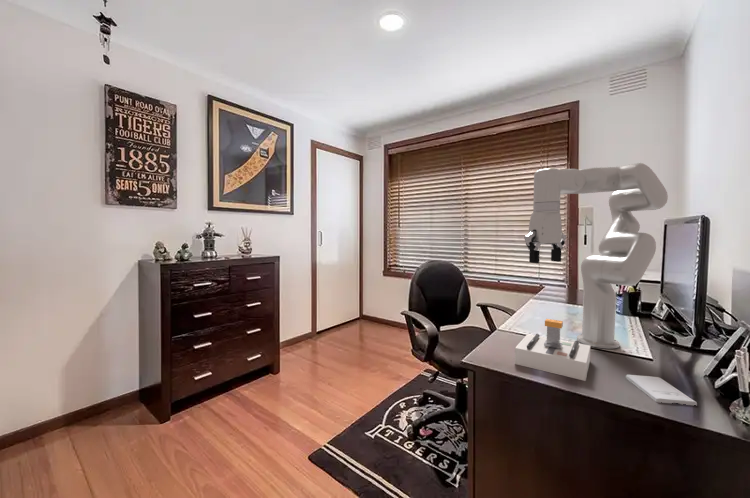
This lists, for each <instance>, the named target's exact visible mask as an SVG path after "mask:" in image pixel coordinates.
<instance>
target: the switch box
mask: <svg viewBox="0 0 750 498" xmlns="http://www.w3.org/2000/svg"><path fill="white" fill-rule="evenodd" d="M546 340H547V336H540V334H539V333H536V334H535V335H533V334H528V333H527V334H526V335H525V336H524V337H523V338H522V340H521V341H520V342H519V343H518V344H517V345H516V346H515V347H514V349H515V350H514V365H518V366H522V367H525V368H526V367H527V368H530V369H535V370H538V371H543V372H547V373H551V374H555V375H558V376H559V375H560V376H563V377H568V378H571V379H576V380H580V381H584V382H586V381H587V375H588V372H589V367H590V361H591V346H590V345H585V344H583V343H580V342H579V341H578V340H575V341H574V342H573V341H567V340H562V339H560V343H562V347H561V349H557V348H552V347H547V346H544V343H545V341H546Z"/></svg>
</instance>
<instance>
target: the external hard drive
mask: <svg viewBox="0 0 750 498" xmlns="http://www.w3.org/2000/svg"><path fill="white" fill-rule="evenodd" d="M625 379H626V380H628V382H629V383H632V384H633V385H634V386H636V388H638V389H639V390H640V391H641V392H642V393H644V394H645V395H646V396H648V397H649V399H652V401H654V402H656V403H661V402H662V403H663V404H672V403H673V404H676V403H678V404H679V405H683V404H686V406H694V405H696V406H698V403H697V401H695V400H694V399H692V398H690V396H688V395H686V394H685V393H683V392H682V391H680V390H679V389H677V388H676V387H674V386H673V385H672V384H671V383H669V382H667V381H666V380H664V379H663V378H661V377H660V376H651V375H650V376H649V375H639V374H638V375H636V374H626V375H625ZM662 403H661V404H662ZM678 404H677V405H678ZM696 406H695V407H696Z"/></svg>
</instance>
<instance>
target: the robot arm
mask: <svg viewBox="0 0 750 498" xmlns="http://www.w3.org/2000/svg"><path fill="white" fill-rule="evenodd" d="M608 192H611V194H610V195H609V197H608V198H609V199H608V206H609V210H610V214H611V215H610V216H611V223H610V225H609V227H608V229H607V230H606V232H605V234H604V236H603V237H602V238H601V241H600V243H599V245H598V252H599V254H600V255H599V254H596V255H588V256H587V257H585V258H584V259H583V260H582V262H581V264H580V273H581V278H582V284H583V286H582V288H583V297H582V319H581V321H582V323H581V327H582V328H581V334H578V335H576V341H578V342H579V344H584V345H590V347H593V348H597V349H605V350H606V349H607V350H612V349H613V350H615V349H618V348H620V346H621V345H620V344H621V343H620V341H618V340H616V338H615V329H616V305H617V295H616V292H615V290H614V288H613V286H612V285H617V286H618V285H619V286H624V287H625V286H626V287H632V286H635V285H637V284H638V283H639V282H640V281H641V279H642V277H643V276H644V274H645V273H646V271H647V269H648V267H649V266H650V263H651V262H652V260H653V258H654V256H655V255H656V249H657V242H656V239H655V238H654V236H652V235H651V234H649V233H646V232H641V231H640V228H641V227H640V226H641V225H640V223H639V221H638V219H637V218H636V217H635V216H634V215H633V213H632V212H641V211H642V212H643V211H655V210H656V211H657V210H661V209H662V208H663V207H665V206H666V204H667V203H668V200H669V199H668V198H669V195H668V190H667V189H666V188H665V186H664V185H663V183H662V181H661V180H660V178H659V177H658V176H657V174H656V173H655V172H654V170H653V169H652V168H651V167H650V166H648V165H647V164H645V163H642V162H640V163H639V162H637V163H631V164H625V165H619V166H607V167H602V166H601V167H589V168H584V169H578V168H566V169H564V168H563V169H559V168H555V167H554V168H550V167H549V168H543V169H539V170H536V171H535V172H534V174H533V199H532V201H533V206H532V208H533V209H532V211H533V212H532V213H531V215H530V218H529V219H530V220H529V224H528V225H529V226H528V232H527V233H528V234H526V235H525V236H524V238H523V239H524V241H525V245H526V247H527V250H528V251H529V253H528V254H529V256H528V257H529V259H528V260H529V263H532V264H539V263H540V250H539V249H540V247H541V245H550V246H551V249H550V261H551V262H559V263H560V262H562V250H563V249H564V245H565V241H566V238H567V235H566V234H565V233H563V228H562V227H563V226H562V216H561V195H571V194H572V195H574V194H575V195H579V194H581V195H582V194H594V193H608Z"/></svg>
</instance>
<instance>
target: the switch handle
mask: <svg viewBox="0 0 750 498" xmlns="http://www.w3.org/2000/svg"><path fill="white" fill-rule="evenodd" d="M563 325H564V321H563V320H558V319H553V318H552V319H550V318H546V319H545V320H544V327H546V338H547V340H546V341H545V343H544V346H547V347H552V348H557V349H561V347H562V343H560V340H561V330H562V329H563V327H564V326H563Z"/></svg>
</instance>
